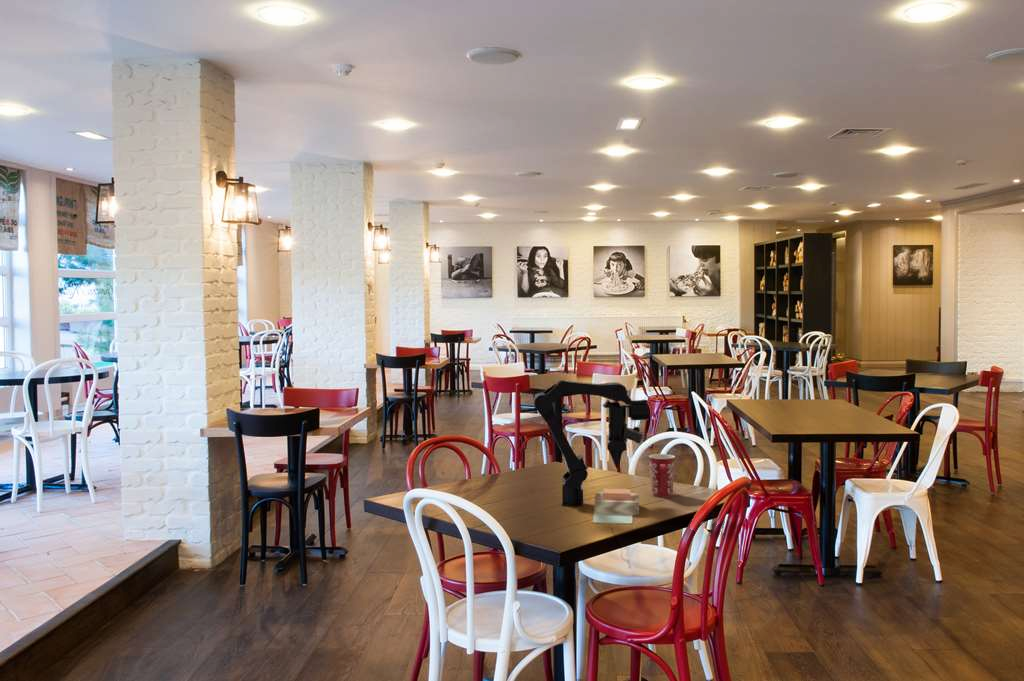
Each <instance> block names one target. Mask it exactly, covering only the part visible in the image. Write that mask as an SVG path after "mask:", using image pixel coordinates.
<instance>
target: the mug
mask: <svg viewBox="0 0 1024 681" xmlns="http://www.w3.org/2000/svg"><path fill="white" fill-rule="evenodd" d="M648 458H649V473H650V474H649V475H650V485H651V486H650V487H651V488H650V492H651V495H652V496H654V497H658V498H659V497H660V498H668V497H672V496H673V494H674V478H675V477H674V476H675V461H676V460H675V459H676V456H675V455H672V454H667V453H666V454H665V453H655V454H649V455H648Z"/></svg>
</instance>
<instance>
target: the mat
mask: <svg viewBox="0 0 1024 681" xmlns="http://www.w3.org/2000/svg"><path fill="white" fill-rule="evenodd" d="M633 516H634V515H633V514H621V513H593V518H592V524H610V525H611V524H613V525H614V524H616V525H633Z"/></svg>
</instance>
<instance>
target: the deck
mask: <svg viewBox="0 0 1024 681" xmlns="http://www.w3.org/2000/svg"><path fill="white" fill-rule="evenodd" d="M639 495H640V494H639V492H638V493H635V492H634V493H633V492H631V500H615V499H603V492H598V491H597V492H595V496H594V502H593V503H594V508H593V509H594V513H621V514H633V516H635V515H636V516H639V515H640V496H639ZM594 513H593V514H594Z"/></svg>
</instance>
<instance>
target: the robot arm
mask: <svg viewBox="0 0 1024 681" xmlns="http://www.w3.org/2000/svg"><path fill="white" fill-rule="evenodd" d="M565 393H567V394H569V393H570V394H579V395H587V396H588V395H589V396H597V397H602V398H604V399H606V401H605V402H604V403H603V404H602V407H603V408H604V409H607V408H608V442H607V444H606V447H607V448H606V450H607V451H608V452H609V454H610V456H611V457H610V458H612V461H613V464H614V466H615V468H617V469H618V468H620V464H621V459H622V454H623V453H624V452H626V451H627V447H628V445H627V442H628V440H629V441H632V442H635V443H637V444H639V445H640V444H641V443H642V440H643V437H644V433H643V432H642V431H641V430H640V427H638V426H634V427H633V428H632V427H628V423H627V418H629V419H630V421H648V420H649V419H650V409H649V404H648V400H647V399H641V400H640V399H639V400H637V399H636V400H632V398H630V396H629V394H628V390H627V388H626V386H625V385H623V384H622V383H619V382H605V383H603V382H602V383H591V382H582V381H581V382H580V381H573V380H565V379H558V380H557V381H556V383H554V384H552V385H551V386H550V387H548V388H547V389H545V390H544V391H543V392H539V393H536V394H535V395H534V396H533V398H532V404H533V406H534V408H535V410H537V412H538V414H540V416H541V417H542V419H543V420H544V421H545V423H546V424H547V427H548V428H549V430H550V432H551V434H552V437H553V438H554V440H555V442H556V444H557V446H558V448H559V450H560V452H561V453H562V455H563V458H564V463H565V465H566V470H567V471H566V472H565V473H564V474H563V475H562V476H561V479H562V482H563V483H562V484H561V486H562V488H561V490H562V491H561V494H562V496H561V497H562V502H561V506H571V507H572V506H578V507H580V506H582V504H583V503H584V501H585V500H584V489H583V486H582V485H583V482H584V481H586V479H588V475H589V474H588V470H589V467H588V465H586V463H585V461H584V460H585V459H584V458H583V457H582V455H581V454H579V455H576V453H575V452H574V450H573V448H572V445H571V444H570V442H569V440H568V439H567V436H566V434H565V432H564V430H563V429H562V427H561V424H560V423H559V420H558V419H557V416H556V411H555V408H554V403H555V402H556V401H557V400H558V399H560V397H562V395H563V394H565ZM610 400H612V402H611V401H610ZM620 402H623V404H620Z"/></svg>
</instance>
